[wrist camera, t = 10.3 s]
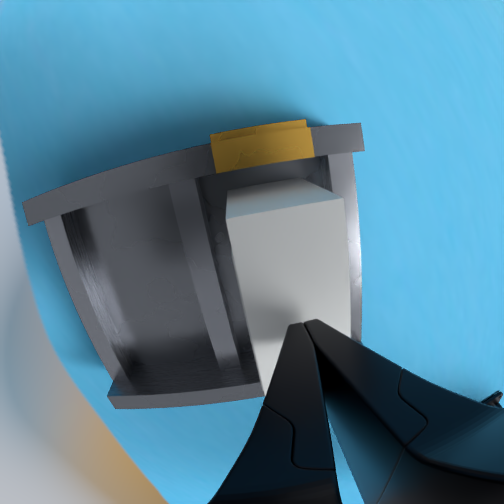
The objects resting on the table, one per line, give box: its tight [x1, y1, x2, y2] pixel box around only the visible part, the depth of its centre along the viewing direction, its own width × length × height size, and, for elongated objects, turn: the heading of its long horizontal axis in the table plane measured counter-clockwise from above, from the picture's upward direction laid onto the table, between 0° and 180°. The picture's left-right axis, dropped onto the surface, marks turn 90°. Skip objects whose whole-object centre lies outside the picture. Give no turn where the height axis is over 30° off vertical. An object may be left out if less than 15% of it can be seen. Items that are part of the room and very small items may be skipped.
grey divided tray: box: [22, 119, 365, 409], centre depth 12 cm, size 13×11×3 cm
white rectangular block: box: [226, 178, 351, 396], centre depth 11 cm, size 3×7×5 cm, turn 10°
